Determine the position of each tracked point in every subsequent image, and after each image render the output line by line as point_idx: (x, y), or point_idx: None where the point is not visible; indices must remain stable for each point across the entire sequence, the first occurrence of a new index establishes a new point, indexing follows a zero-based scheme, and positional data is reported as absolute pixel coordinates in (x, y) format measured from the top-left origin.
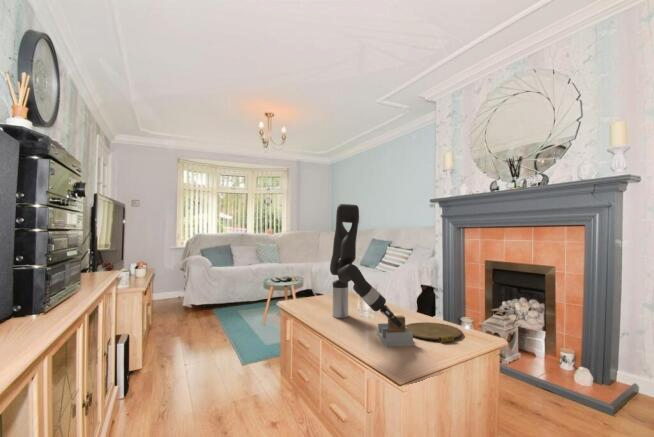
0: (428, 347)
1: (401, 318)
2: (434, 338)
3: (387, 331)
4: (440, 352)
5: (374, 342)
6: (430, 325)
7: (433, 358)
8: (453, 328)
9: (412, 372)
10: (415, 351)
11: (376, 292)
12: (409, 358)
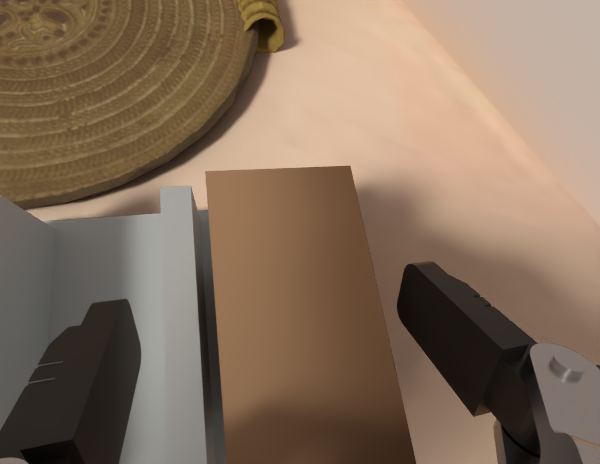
0: (345, 139)
1: (358, 234)
2: (249, 56)
3: (208, 437)
4: (407, 107)
5: None
6: None
7: (489, 168)
8: None
9: None
10: (418, 233)
11: None
12: (524, 297)
